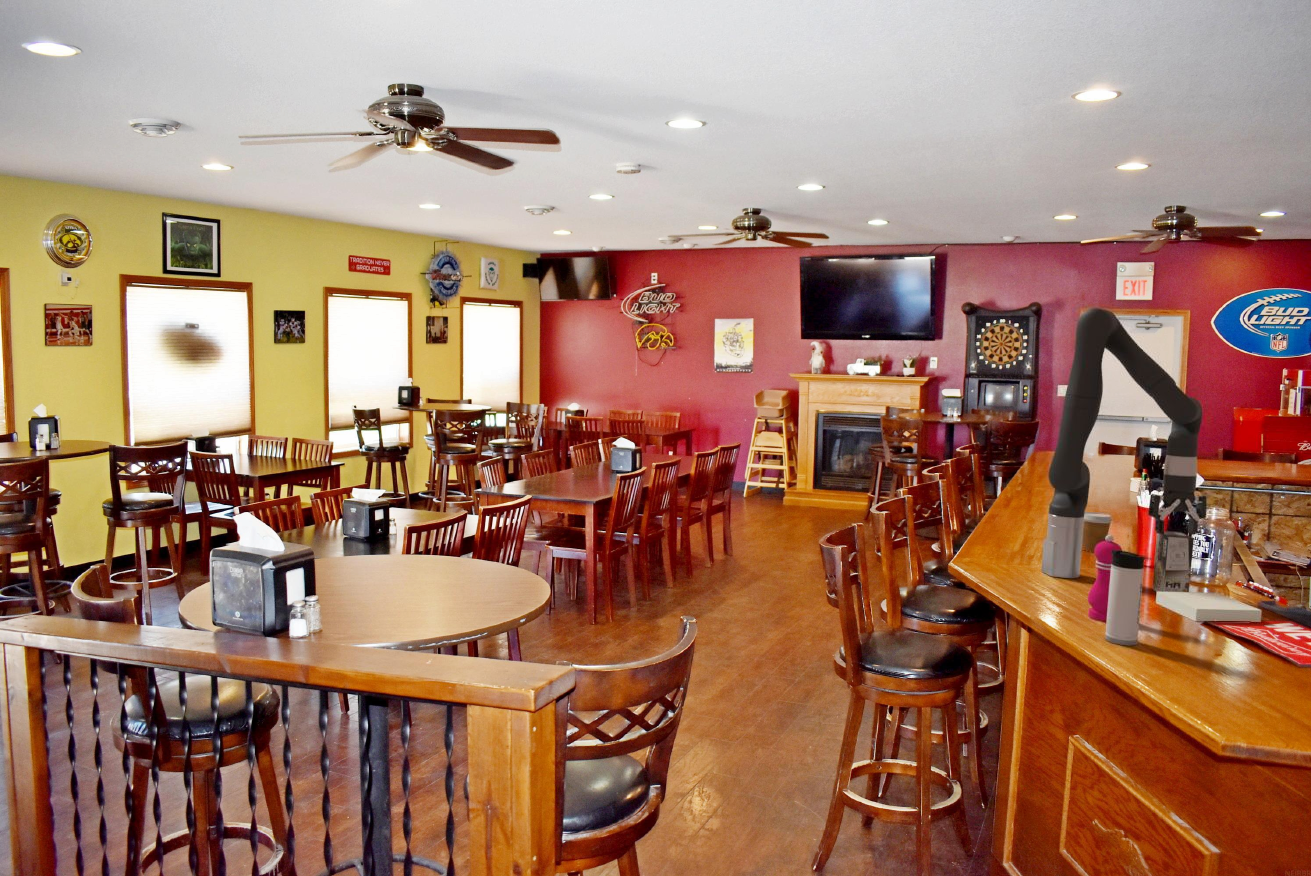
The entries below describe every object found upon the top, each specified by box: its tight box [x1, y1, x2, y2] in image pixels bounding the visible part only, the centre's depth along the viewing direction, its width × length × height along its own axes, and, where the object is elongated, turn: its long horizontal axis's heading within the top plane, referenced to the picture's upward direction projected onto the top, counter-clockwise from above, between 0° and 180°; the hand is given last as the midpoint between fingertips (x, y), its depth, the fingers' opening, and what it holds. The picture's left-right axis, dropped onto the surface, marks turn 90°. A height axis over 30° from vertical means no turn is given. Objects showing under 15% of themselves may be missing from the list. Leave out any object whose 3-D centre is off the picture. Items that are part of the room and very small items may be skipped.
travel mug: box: [1104, 550, 1145, 647], centre depth 200 cm, size 6×7×20 cm
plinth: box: [1155, 591, 1262, 622], centre depth 227 cm, size 16×16×3 cm
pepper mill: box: [1087, 534, 1123, 622], centre depth 218 cm, size 7×7×20 cm
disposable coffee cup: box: [1082, 511, 1113, 553], centre depth 299 cm, size 10×10×12 cm
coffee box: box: [1152, 531, 1195, 593], centre depth 245 cm, size 9×6×16 cm
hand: (1175, 534), depth 244 cm, fingers open, 8 cm apart
